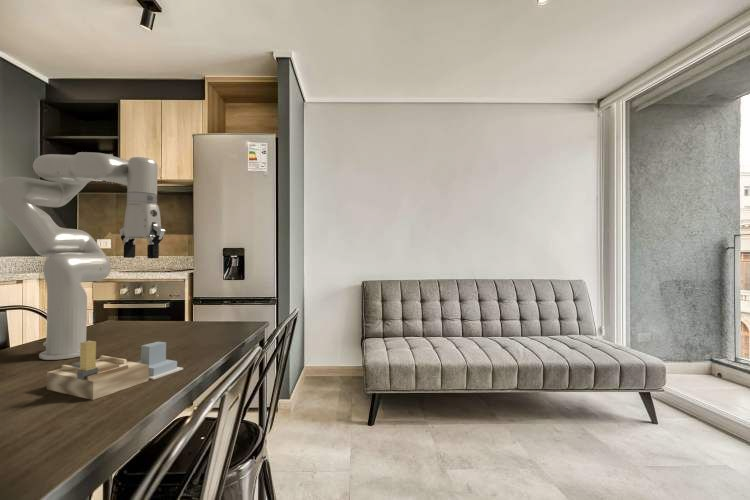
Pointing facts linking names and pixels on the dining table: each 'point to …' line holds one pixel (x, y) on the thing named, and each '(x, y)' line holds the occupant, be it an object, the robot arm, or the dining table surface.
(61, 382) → the tan box base
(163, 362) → the cover
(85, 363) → the latch
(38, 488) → the dining table surface
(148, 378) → the mat
